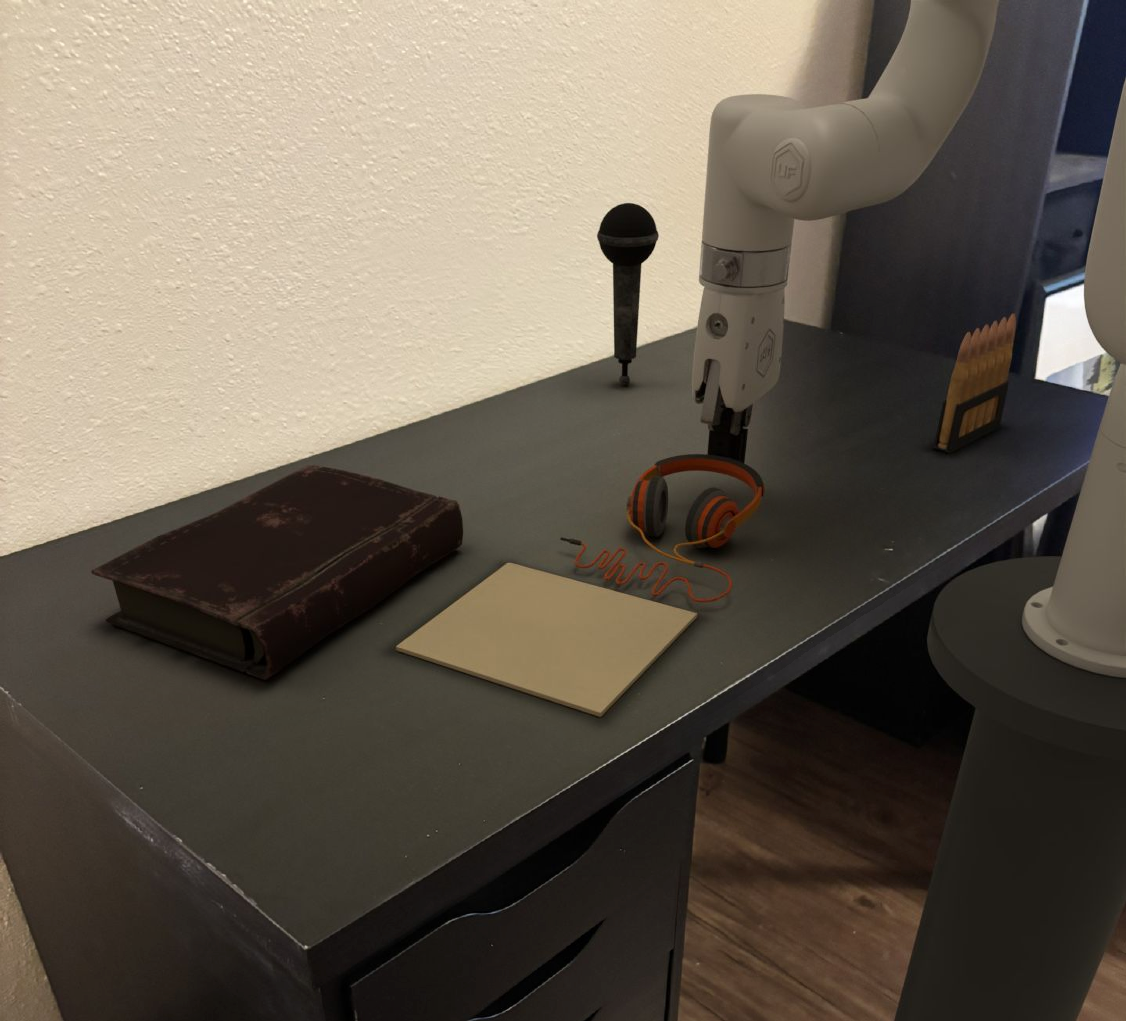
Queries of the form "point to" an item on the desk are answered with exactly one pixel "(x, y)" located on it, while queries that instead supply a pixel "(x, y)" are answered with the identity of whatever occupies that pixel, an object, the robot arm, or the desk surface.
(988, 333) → the ammunition clip
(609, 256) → the microphone
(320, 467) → the diary
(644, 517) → the headphones
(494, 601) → the flat square board
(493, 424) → the desk surface
